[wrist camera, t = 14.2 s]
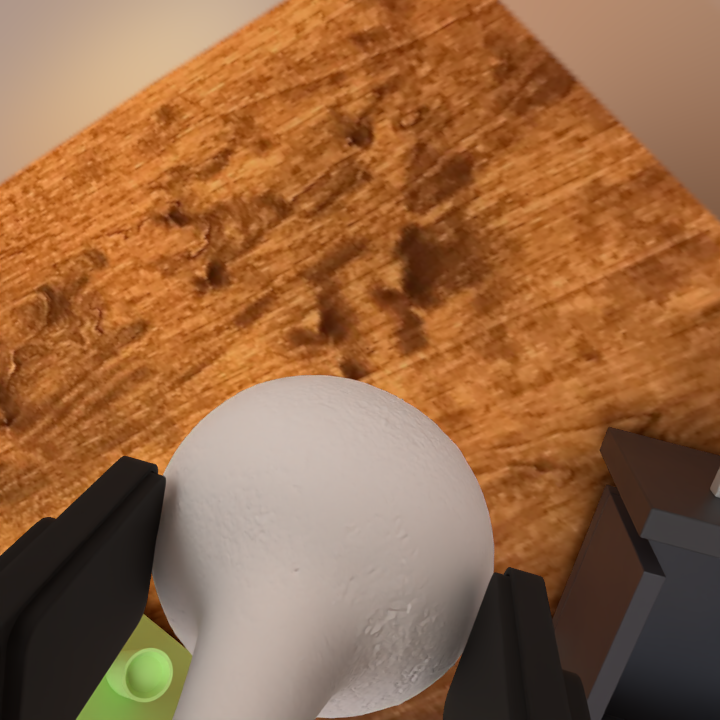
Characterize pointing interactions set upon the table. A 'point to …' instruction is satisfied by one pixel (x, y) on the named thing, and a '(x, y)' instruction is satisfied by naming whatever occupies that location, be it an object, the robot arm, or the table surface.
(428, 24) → the table surface
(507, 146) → the table surface
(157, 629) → the kettle
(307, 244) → the table surface
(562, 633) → the drawer
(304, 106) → the table surface
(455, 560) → the garlic bulb
